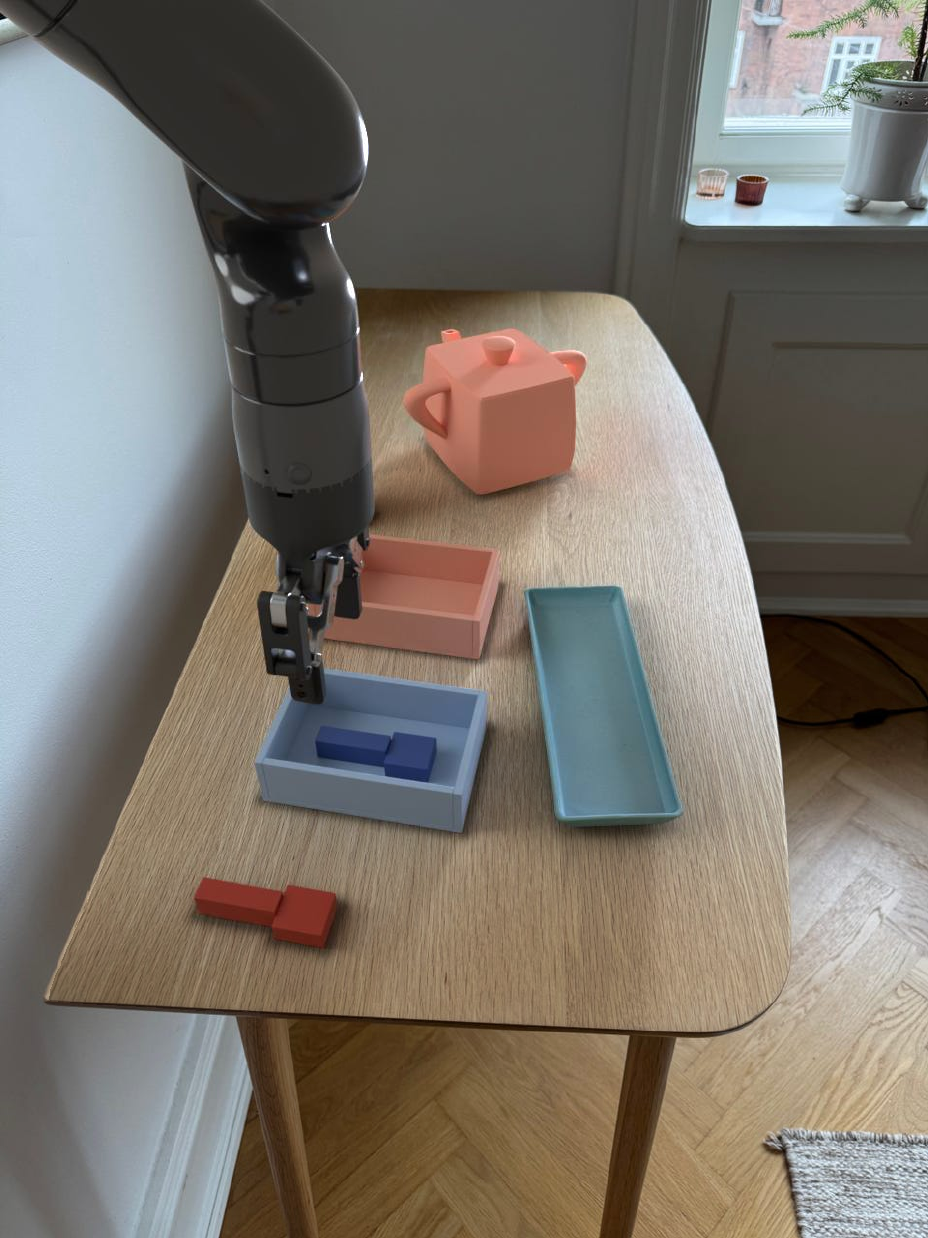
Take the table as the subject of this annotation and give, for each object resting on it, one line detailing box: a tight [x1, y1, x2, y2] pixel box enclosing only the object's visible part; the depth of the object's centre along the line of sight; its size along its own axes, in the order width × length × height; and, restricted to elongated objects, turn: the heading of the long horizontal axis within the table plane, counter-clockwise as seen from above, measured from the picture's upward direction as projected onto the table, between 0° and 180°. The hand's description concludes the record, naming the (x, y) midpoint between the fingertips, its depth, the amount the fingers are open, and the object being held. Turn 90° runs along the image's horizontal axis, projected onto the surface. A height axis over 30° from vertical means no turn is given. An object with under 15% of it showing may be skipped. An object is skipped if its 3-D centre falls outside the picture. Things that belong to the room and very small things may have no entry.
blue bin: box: [253, 667, 488, 834], centre depth 70 cm, size 15×10×4 cm
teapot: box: [402, 327, 588, 496], centre depth 102 cm, size 20×22×14 cm
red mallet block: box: [193, 877, 339, 949], centre depth 61 cm, size 9×3×2 cm, turn 79°
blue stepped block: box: [315, 726, 437, 782], centre depth 70 cm, size 9×3×2 cm, turn 79°
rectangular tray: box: [523, 584, 684, 828], centre depth 75 cm, size 26×9×2 cm, turn 2°
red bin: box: [307, 533, 501, 660], centre depth 83 cm, size 15×10×4 cm
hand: (328, 655), depth 63 cm, fingers open, 8 cm apart
